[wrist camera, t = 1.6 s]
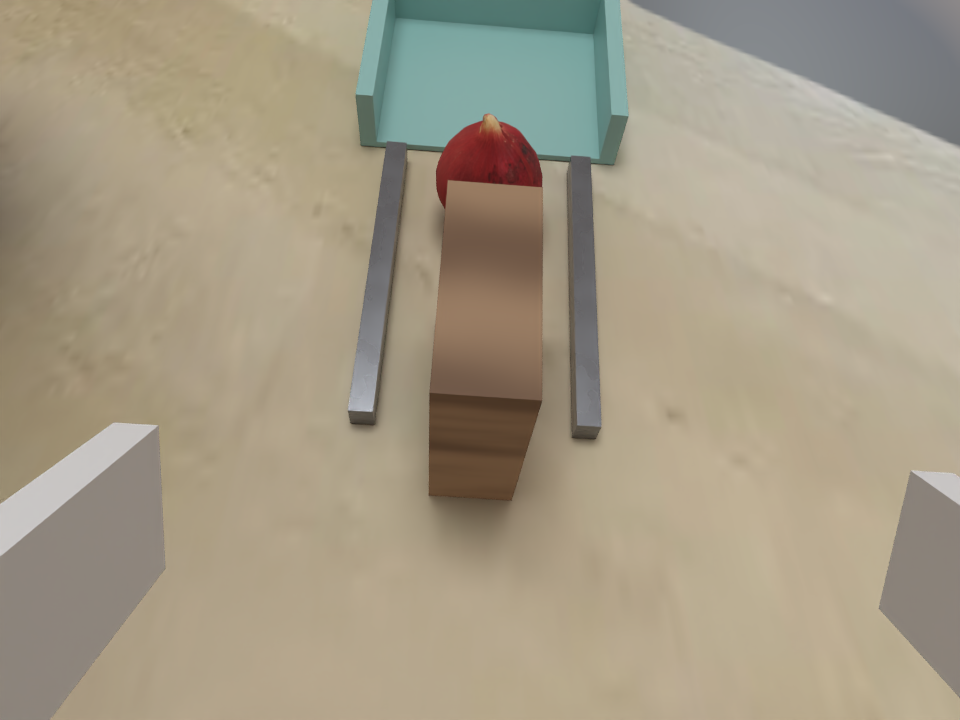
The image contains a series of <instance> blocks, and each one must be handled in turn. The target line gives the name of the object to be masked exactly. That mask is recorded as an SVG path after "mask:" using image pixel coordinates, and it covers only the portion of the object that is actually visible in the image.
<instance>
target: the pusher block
mask: <svg viewBox="0 0 960 720" xmlns="http://www.w3.org/2000/svg"><path fill="white" fill-rule="evenodd" d="M542 276H543V187H530V186H517V185H504V184H491V183H478V182H465V181H452V180H448V184H447V196H446V208H445V219H444V231H443V243H442V254H441V266H440V277H439V289H438V301H437V312H436V324H435V335H434V347H433V359H432V370H431V382H430V400H429V495H432V496H448V497H464V498H480V499H496V500H512V497H513V494H514V490H515V487H516V484H517V481H518V477H519V474H520V471H521V468H522V464H523V461H524V458H525V455H526V451H527V448H528V445H529V442H530V438H531V435H532V432H533V429H534V425H535V422H536V419H537V416H538V412H539V409H540V406H541V403H542Z"/></svg>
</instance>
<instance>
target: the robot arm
mask: <svg viewBox="0 0 960 720" xmlns="http://www.w3.org/2000/svg"><path fill="white" fill-rule="evenodd" d="M164 570H165V551H164V530H163V508H162V487H161V466H160V444H159V425H145V424H128V423H112V424H111V425H110V426H108V427H107V428H105V429H104V430H103V431H101V432H100V433H98V434H97V435H96V436H94V437H93V438H91V439H90V440H89V441H87V442H86V443H85V444H83V445H82V446H80V447H79V448H78V449H76V450H75V451H73V452H72V453H71V454H69V455H68V456H66V457H65V458H64V459H62V460H61V461H59V462H58V463H57V464H55V465H54V466H52V467H51V468H50V469H48V470H47V471H45V472H44V473H43V474H41V475H40V476H39V477H37V478H36V479H34V480H33V481H32V482H30V483H29V484H27V485H26V486H25V487H23V488H22V489H20V490H19V491H18V492H16V493H15V494H13V495H12V496H11V497H9V498H8V499H6V500H5V501H4V502H2V503H1V504H0V720H50V719H51V718H52V716H53V715H54V714H55V712H56V711H57V710H58V708H59V707H60V706H61V704H62V703H63V702H64V701H65V699H66V698H67V697H68V695H69V694H70V693H71V691H72V690H73V689H74V687H75V686H76V685H77V684H78V682H79V681H80V680H81V678H82V677H83V676H84V674H85V673H86V672H87V670H88V669H89V668H90V666H91V665H92V664H93V663H94V661H95V660H96V659H97V657H98V656H99V655H100V653H101V652H102V651H103V649H104V648H105V647H106V646H107V644H108V643H109V642H110V640H111V639H112V638H113V636H114V635H115V634H116V632H117V631H118V630H119V629H120V627H121V626H122V625H123V623H124V622H125V621H126V619H127V618H128V617H129V615H130V614H131V613H132V612H133V610H134V609H135V608H136V606H137V605H138V604H139V602H140V601H141V600H142V598H143V597H144V596H145V595H146V593H147V592H148V591H149V589H150V588H151V587H152V585H153V584H154V583H155V581H156V580H157V579H158V577H159V576H160V575H161V574H162V572H163V571H164ZM879 609H880V610H881V612H882V613H883V614H884V615H885V616H886V617H887V618H888V619H889V620H890V621H891V623H892V624H893V625H894V626H895V627H896V628H897V629H898V630H899V631H900V632H901V634H902V635H903V636H904V637H905V638H906V639H907V640H908V641H909V642H910V644H911V645H912V646H913V647H914V648H915V649H916V650H917V651H918V652H919V653H920V655H921V656H922V657H923V658H924V659H925V660H926V661H927V662H928V663H929V664H930V666H931V667H932V668H933V669H934V670H935V671H936V672H937V673H938V674H939V676H940V677H941V678H942V679H943V680H944V681H945V682H946V683H947V684H948V685H949V687H950V688H951V689H952V690H953V691H954V692H955V693H956V694H957V695H958V696H959V698H960V477H959V476H957V475H955V474H954V473H942V472H925V471H910V476H909V480H908V484H907V489H906V493H905V497H904V501H903V506H902V510H901V514H900V519H899V523H898V527H897V532H896V536H895V540H894V544H893V549H892V553H891V557H890V562H889V566H888V570H887V575H886V579H885V583H884V588H883V592H882V596H881V600H880V605H879Z"/></svg>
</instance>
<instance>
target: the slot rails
mask: <svg viewBox="0 0 960 720" xmlns="http://www.w3.org/2000/svg"><path fill="white" fill-rule="evenodd" d="M406 167H407V143H405V142H392V141H387V144H386V151H385V158H384V164H383V171H382V178H381V185H380V192H379V199H378V206H377V213H376V220H375V227H374V234H373V240H372V247H371V254H370V261H369V268H368V275H367V282H366V289H365V296H364V303H363V310H362V316H361V323H360V330H359V337H358V344H357V351H356V358H355V365H354V372H353V379H352V386H351V392H350V399H349V406H348V413H349V418H350V422H351V423H357V424H373V425H375V418H376V409H377V401H378V393H379V385H380V377H381V369H382V361H383V353H384V345H385V337H386V329H387V321H388V313H389V305H390V296H391V288H392V280H393V272H394V264H395V256H396V248H397V240H398V232H399V224H400V216H401V208H402V200H403V192H404V184H405V175H406ZM567 202H568V255H569V308H570V361H571V414H572V437H573V438H588V439H596V437H597V435H598V433H599V431H600V429H601V404H600V379H599V355H598V330H597V305H596V280H595V255H594V231H593V206H592V181H591V157H586V156H573V155H571V157H570V162H569V166H568V170H567Z"/></svg>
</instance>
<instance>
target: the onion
mask: <svg viewBox="0 0 960 720" xmlns="http://www.w3.org/2000/svg"><path fill="white" fill-rule="evenodd" d="M448 180H452V181H465V182H478V183H491V184H504V185H517V186H530V187H542V172H541V168H540V164H539V160H538V157H537V154H536V152H535V150H534V149H533V148H532V147H531V145H530V144H529V142H528V141H527V140H526V138H525V137H524V136H523V134H522V133H521V132H520V131H519V130H518V129H517V128H515V127H513V126H511V125H509V124H507V123H504V122H500V121H498V120H497V118H496V117H495V116H494V115H491V114H490V113H488V114H485V115H484V116H483V121H479V122H476V123H474V124H471V125H468V126H466V127H465V128H463V129H462V130H461V131H460V132H459V133H457V134H456V135H455V136H454V137H453V138H452V139H451V140H450V141H449V142H448V144H447V145H446V147H445V149H444V151H443V153H442V155H441V157H440V160H439V162H438V166H437V169H436V187H437V192H438V196H439V199H440V201H441V203H442V205H443V207H444V208H446V196H447V184H448Z"/></svg>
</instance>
